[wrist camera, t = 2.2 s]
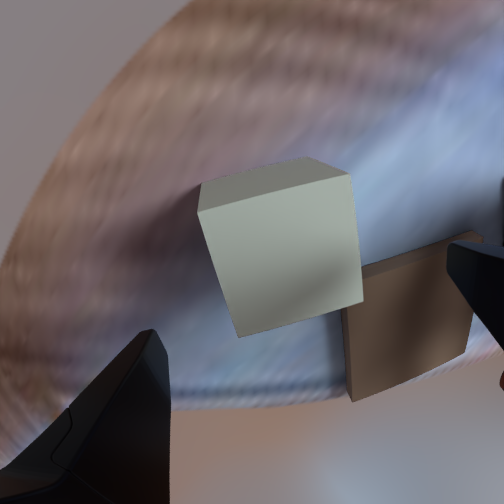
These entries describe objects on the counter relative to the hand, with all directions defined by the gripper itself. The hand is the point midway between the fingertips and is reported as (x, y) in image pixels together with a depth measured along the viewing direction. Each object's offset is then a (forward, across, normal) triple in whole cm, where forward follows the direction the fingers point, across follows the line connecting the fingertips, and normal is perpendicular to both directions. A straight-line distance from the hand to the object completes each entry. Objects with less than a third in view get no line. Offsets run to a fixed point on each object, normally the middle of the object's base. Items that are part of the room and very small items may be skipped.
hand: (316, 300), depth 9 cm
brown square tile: (+7, -8, +9) cm, 14 cm away
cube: (+8, 0, 0) cm, 8 cm away
